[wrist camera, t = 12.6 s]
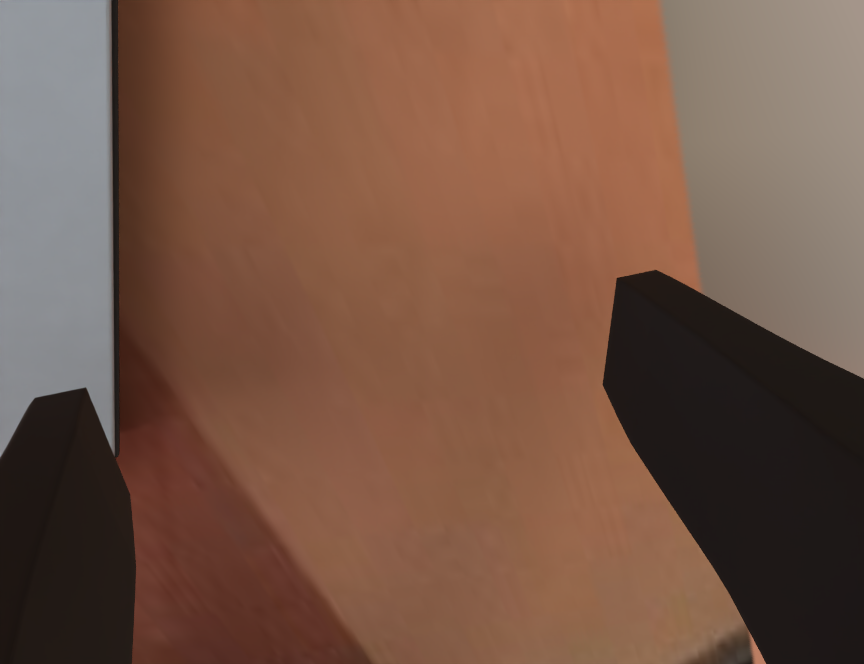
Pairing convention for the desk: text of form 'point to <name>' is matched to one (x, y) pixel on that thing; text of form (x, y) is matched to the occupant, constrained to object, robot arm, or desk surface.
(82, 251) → the stapler
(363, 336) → the desk surface
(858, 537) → the robot arm
